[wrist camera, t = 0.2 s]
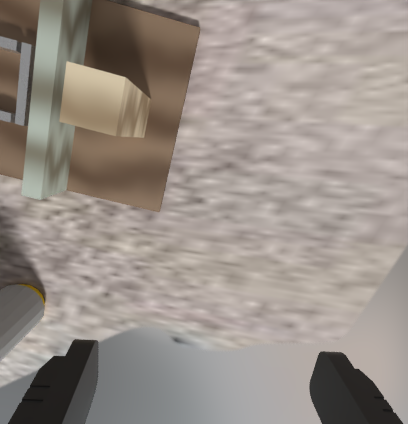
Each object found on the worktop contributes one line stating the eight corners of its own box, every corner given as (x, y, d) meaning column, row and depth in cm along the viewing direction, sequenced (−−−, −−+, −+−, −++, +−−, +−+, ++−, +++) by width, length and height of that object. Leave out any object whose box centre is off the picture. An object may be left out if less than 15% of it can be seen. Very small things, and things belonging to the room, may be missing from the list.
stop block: (113, 89, 33) (66, 61, 21) (151, 99, 33) (125, 77, 21) (107, 128, 34) (59, 121, 22) (143, 137, 34) (115, 136, 22)
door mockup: (-34, -38, 30) (-101, -90, 23) (200, 31, 32) (200, 1, 25) (-42, 162, 35) (-99, 167, 29) (160, 210, 37) (151, 225, 31)
